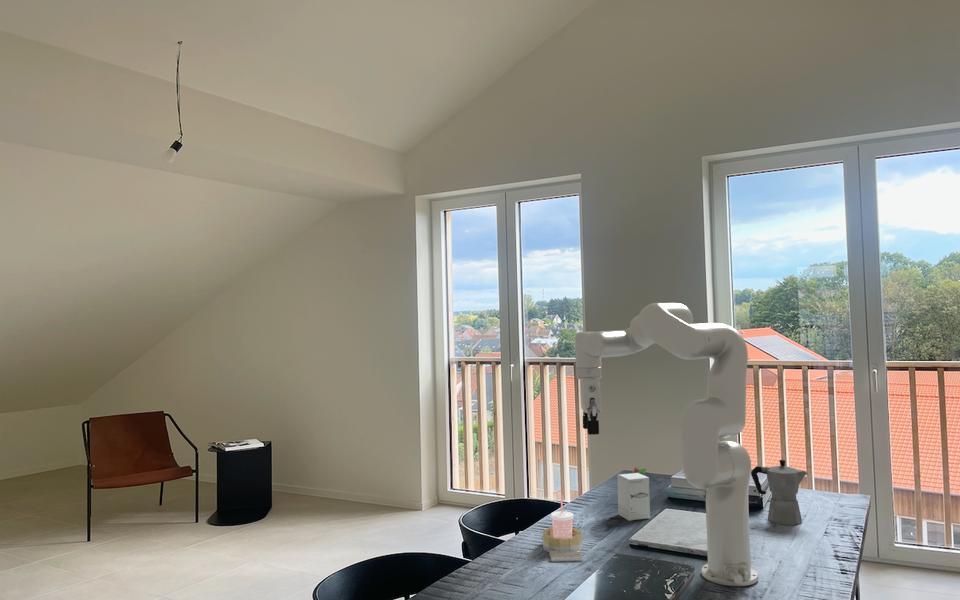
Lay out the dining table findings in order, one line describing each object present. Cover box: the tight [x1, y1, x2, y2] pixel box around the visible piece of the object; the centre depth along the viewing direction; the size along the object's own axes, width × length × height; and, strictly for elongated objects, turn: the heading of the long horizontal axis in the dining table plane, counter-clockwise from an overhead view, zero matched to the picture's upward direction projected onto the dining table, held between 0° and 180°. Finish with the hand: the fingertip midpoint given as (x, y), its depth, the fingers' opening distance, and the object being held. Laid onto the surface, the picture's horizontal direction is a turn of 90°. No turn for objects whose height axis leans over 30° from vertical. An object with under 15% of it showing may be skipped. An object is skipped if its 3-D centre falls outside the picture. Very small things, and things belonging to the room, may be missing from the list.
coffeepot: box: [750, 459, 808, 526], centre depth 197 cm, size 15×9×18 cm, turn 67°
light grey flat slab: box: [542, 536, 584, 563], centre depth 176 cm, size 15×10×2 cm
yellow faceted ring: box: [542, 525, 583, 547], centre depth 181 cm, size 15×10×4 cm
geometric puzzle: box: [631, 467, 651, 480], centre depth 240 cm, size 7×7×8 cm
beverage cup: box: [550, 494, 574, 538], centre depth 179 cm, size 6×6×14 cm
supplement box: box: [616, 472, 651, 522], centre depth 204 cm, size 7×7×13 cm
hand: (590, 431), depth 195 cm, fingers open, 9 cm apart
